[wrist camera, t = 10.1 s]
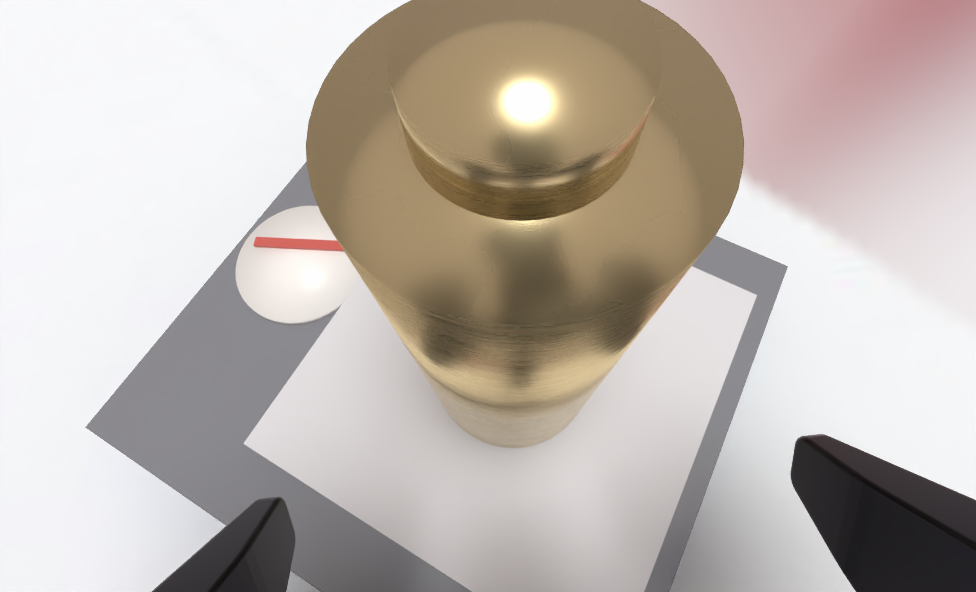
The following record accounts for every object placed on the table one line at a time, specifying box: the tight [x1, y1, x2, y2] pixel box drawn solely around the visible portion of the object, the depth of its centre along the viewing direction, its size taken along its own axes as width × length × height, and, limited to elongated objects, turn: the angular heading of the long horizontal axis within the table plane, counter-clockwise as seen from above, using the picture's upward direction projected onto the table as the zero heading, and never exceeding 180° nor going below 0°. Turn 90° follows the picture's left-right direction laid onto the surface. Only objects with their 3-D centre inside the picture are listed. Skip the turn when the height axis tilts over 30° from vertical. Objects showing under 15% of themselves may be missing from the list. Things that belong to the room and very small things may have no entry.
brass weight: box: [306, 0, 744, 448], centre depth 11 cm, size 5×5×13 cm
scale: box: [86, 162, 788, 592], centre depth 20 cm, size 18×20×4 cm
